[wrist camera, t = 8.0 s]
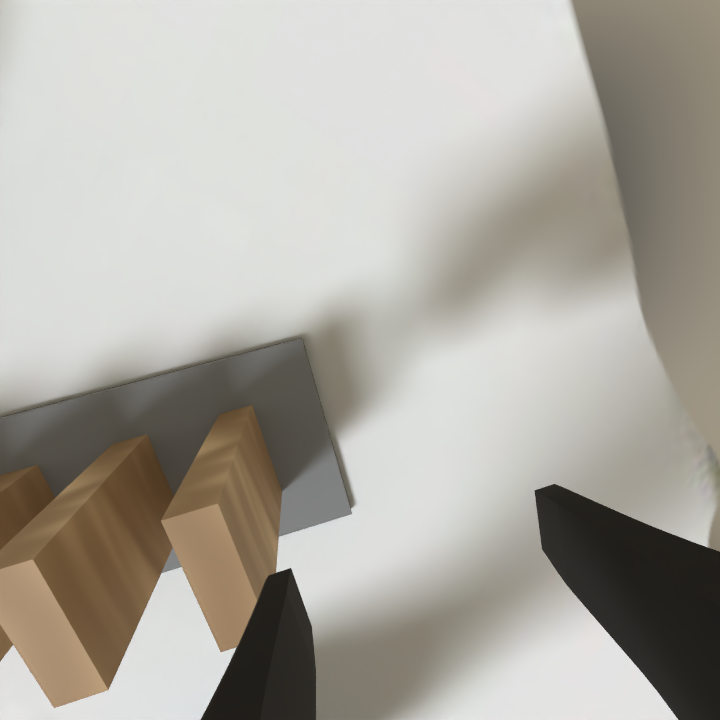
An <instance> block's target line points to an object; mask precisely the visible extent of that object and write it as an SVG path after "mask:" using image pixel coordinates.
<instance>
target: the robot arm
mask: <svg viewBox="0 0 720 720" xmlns="http://www.w3.org/2000/svg"><path fill="white" fill-rule="evenodd" d="M535 497H536V505H537V513H538V520H539V528H540V536H541V543H542V550H543V551H544V553H545V554H546V556H547V557H548V559H549V560H550V562H551V563H552V564H553V566H554V567H555V569H556V570H557V572H558V573H559V575H560V576H561V577H562V579H563V580H564V582H565V583H566V584H567V586H568V587H569V588H570V589H571V590H572V592H573V593H574V594H575V595H576V596H577V598H578V599H579V600H580V601H581V602H582V603H583V605H584V606H585V607H586V608H587V609H588V610H589V612H590V613H591V614H592V615H593V616H594V617H595V618H596V620H597V621H598V622H599V623H600V624H601V625H602V627H603V628H604V629H605V630H606V631H607V632H608V633H609V635H610V636H611V637H612V638H613V639H614V640H615V642H616V643H617V644H618V645H619V646H620V647H621V648H622V650H623V651H624V652H625V653H626V654H627V655H628V657H629V658H630V659H631V660H632V661H633V662H634V664H635V665H636V666H637V667H638V668H639V669H640V671H641V672H642V673H643V674H644V675H645V677H646V678H647V679H648V680H649V682H650V683H651V684H652V685H653V686H654V688H655V689H656V690H657V691H658V693H659V694H660V695H661V697H662V698H663V699H664V701H665V702H666V704H667V705H668V706H669V708H670V709H671V710H672V712H673V713H674V714H675V716H676V717H677V718H678V720H720V552H719V551H716V550H713V549H710V548H707V547H705V546H702V545H699V544H696V543H694V542H691V541H688V540H686V539H683V538H680V537H678V536H675V535H673V534H670V533H667V532H665V531H662V530H660V529H657V528H655V527H652V526H650V525H647V524H645V523H643V522H640V521H638V520H635V519H633V518H631V517H628V516H626V515H624V514H621V513H619V512H617V511H615V510H612V509H610V508H608V507H606V506H603V505H601V504H599V503H597V502H594V501H592V500H590V499H588V498H586V497H583V496H581V495H579V494H577V493H574V492H572V491H570V490H568V489H565V488H563V487H561V486H558V485H556V484H553V485H550V486H547V487H544V488H541V489H537V490H535ZM201 720H316V668H315V656H314V645H313V635H312V626H311V623H310V620H309V618H308V615H307V612H306V609H305V606H304V604H303V601H302V598H301V595H300V592H299V589H298V587H297V584H296V581H295V578H294V575H293V573H292V570H291V568H290V569H287V570H284V571H281V572H277V573H274V574H271V575H268V577H267V579H266V580H265V583H264V585H263V588H262V590H261V593H260V595H259V598H258V600H257V603H256V605H255V607H254V610H253V612H252V614H251V617H250V619H249V621H248V624H247V626H246V628H245V631H244V633H243V635H242V637H241V639H240V642H239V644H238V646H237V648H236V650H235V653H234V655H233V657H232V659H231V661H230V663H229V665H228V667H227V670H226V671H225V673H224V675H223V677H222V679H221V681H220V683H219V685H218V687H217V689H216V691H215V693H214V695H213V697H212V699H211V701H210V703H209V705H208V707H207V709H206V711H205V713H204V714H203V716H202V718H201Z"/></svg>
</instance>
